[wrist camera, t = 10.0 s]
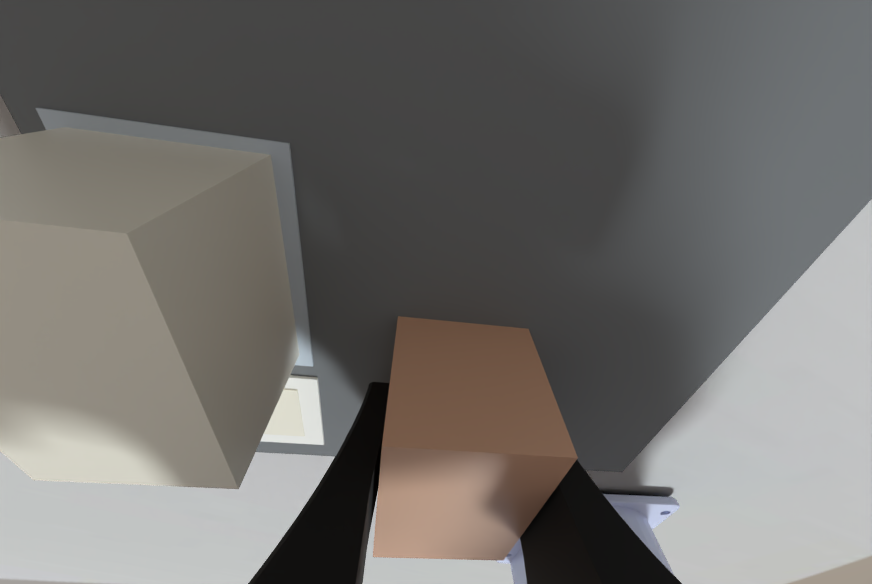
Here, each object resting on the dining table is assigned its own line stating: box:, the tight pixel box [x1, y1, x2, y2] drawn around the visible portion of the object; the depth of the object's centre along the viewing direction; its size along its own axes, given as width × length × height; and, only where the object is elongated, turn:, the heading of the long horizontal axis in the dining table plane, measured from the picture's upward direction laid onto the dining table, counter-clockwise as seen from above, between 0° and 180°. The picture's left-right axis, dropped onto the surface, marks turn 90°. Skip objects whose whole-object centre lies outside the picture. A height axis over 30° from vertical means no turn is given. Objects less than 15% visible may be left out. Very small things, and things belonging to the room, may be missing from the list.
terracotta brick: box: [373, 316, 578, 560], centre depth 10 cm, size 6×4×4 cm, turn 172°
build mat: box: [0, 0, 872, 472], centre depth 9 cm, size 20×19×1 cm
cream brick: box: [0, 127, 299, 489], centre depth 7 cm, size 6×4×4 cm, turn 172°
